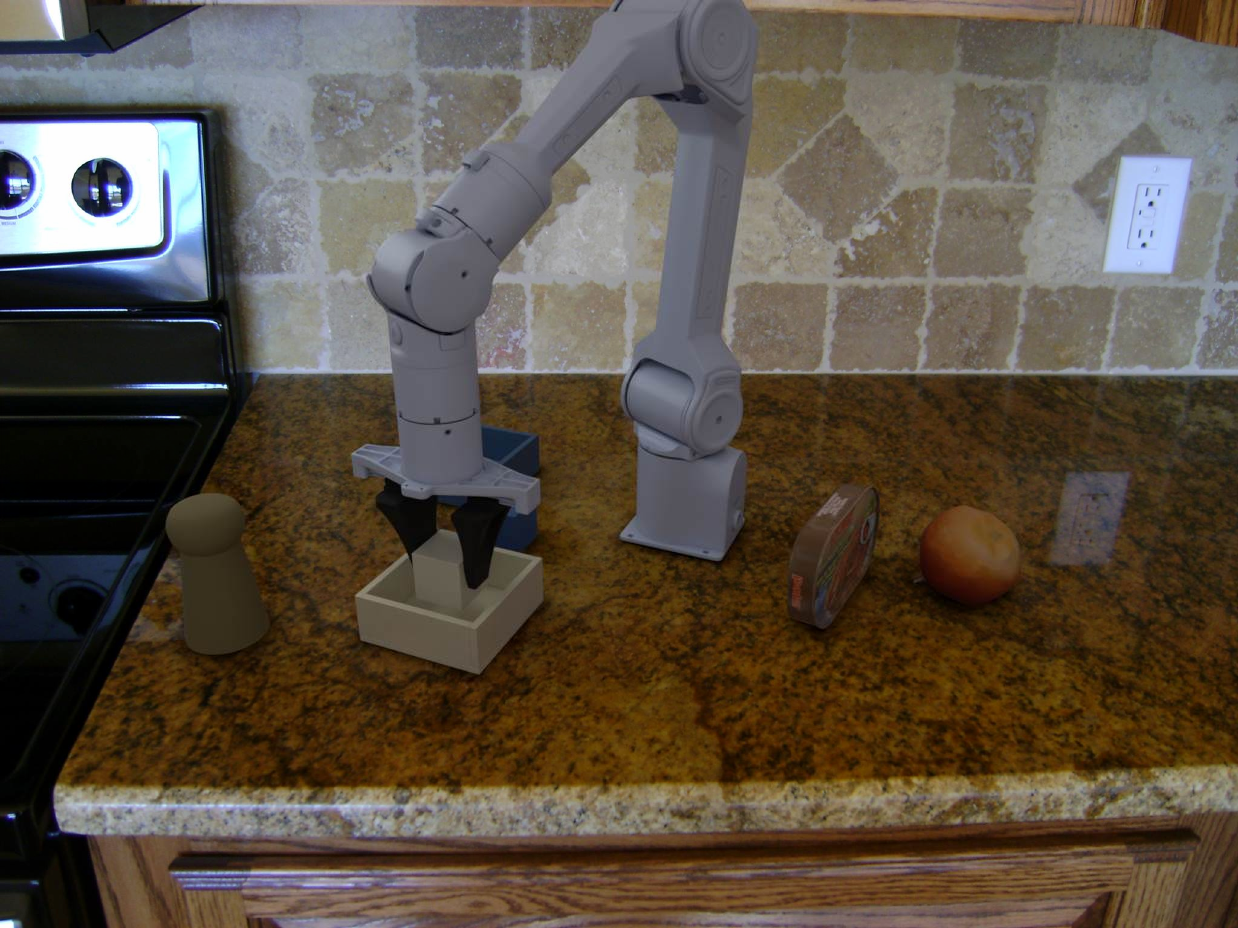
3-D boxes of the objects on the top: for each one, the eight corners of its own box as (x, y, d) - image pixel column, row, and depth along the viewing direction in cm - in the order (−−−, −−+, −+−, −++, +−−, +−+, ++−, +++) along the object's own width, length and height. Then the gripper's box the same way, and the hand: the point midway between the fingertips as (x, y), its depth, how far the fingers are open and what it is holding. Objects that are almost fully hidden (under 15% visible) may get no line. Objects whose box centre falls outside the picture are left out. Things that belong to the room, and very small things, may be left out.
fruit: (925, 532, 82) (983, 478, 77) (989, 602, 80) (1055, 552, 74) (875, 566, 77) (934, 511, 71) (943, 642, 75) (1009, 591, 69)
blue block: (537, 536, 84) (536, 496, 82) (516, 557, 80) (514, 517, 79) (498, 527, 85) (496, 488, 83) (476, 547, 82) (473, 507, 80)
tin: (812, 649, 69) (825, 552, 66) (773, 635, 71) (783, 540, 67) (877, 559, 81) (890, 473, 77) (842, 549, 82) (853, 464, 79)
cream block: (489, 583, 72) (486, 539, 70) (461, 611, 69) (458, 565, 67) (444, 572, 73) (440, 528, 72) (415, 599, 70) (411, 553, 68)
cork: (242, 659, 67) (215, 527, 63) (167, 648, 68) (135, 517, 64) (285, 612, 73) (263, 487, 68) (215, 603, 74) (189, 478, 69)
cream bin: (543, 600, 75) (542, 557, 73) (479, 675, 66) (475, 628, 64) (434, 572, 78) (431, 531, 76) (360, 640, 70) (354, 595, 68)
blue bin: (540, 470, 96) (539, 434, 94) (490, 513, 87) (488, 475, 86) (454, 453, 99) (452, 418, 98) (399, 493, 91) (395, 456, 89)
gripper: (315, 412, 64) (339, 580, 70) (502, 448, 59) (510, 626, 65) (377, 379, 69) (394, 536, 75) (552, 409, 65) (555, 576, 70)
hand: (451, 575), depth 70 cm, fingers closed on cream block, 4 cm apart
